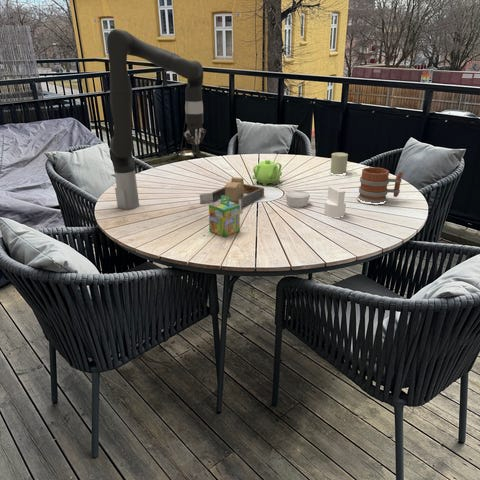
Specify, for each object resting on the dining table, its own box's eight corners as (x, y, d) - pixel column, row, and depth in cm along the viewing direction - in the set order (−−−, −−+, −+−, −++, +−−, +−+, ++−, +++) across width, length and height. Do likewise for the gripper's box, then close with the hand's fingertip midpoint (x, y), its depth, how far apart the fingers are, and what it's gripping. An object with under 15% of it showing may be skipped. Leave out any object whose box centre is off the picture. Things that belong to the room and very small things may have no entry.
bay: (240, 213, 189) (240, 203, 187) (199, 203, 201) (198, 194, 199) (269, 197, 208) (270, 188, 206) (230, 189, 220) (230, 181, 218)
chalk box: (208, 231, 171) (207, 196, 165) (225, 224, 177) (224, 191, 171) (224, 237, 165) (223, 202, 159) (240, 231, 171) (240, 196, 165)
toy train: (244, 195, 211) (244, 176, 207) (236, 207, 196) (235, 186, 192) (234, 194, 213) (233, 175, 208) (224, 206, 198) (224, 185, 193)
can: (326, 173, 246) (328, 152, 240) (339, 171, 249) (341, 150, 244) (336, 177, 238) (338, 156, 233) (349, 174, 241) (351, 154, 236)
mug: (355, 195, 209) (358, 165, 202) (395, 196, 206) (399, 166, 200) (358, 205, 196) (362, 174, 190) (401, 206, 194) (406, 174, 187)
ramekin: (310, 201, 202) (311, 191, 200) (307, 209, 192) (308, 198, 190) (287, 199, 205) (287, 189, 203) (283, 207, 195) (283, 196, 193)
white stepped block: (320, 212, 188) (322, 187, 183) (337, 209, 191) (339, 184, 186) (331, 219, 181) (333, 193, 175) (348, 216, 183) (351, 190, 178)
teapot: (287, 181, 232) (288, 159, 227) (276, 188, 221) (277, 165, 215) (261, 177, 239) (261, 155, 234) (249, 184, 228) (249, 161, 223)
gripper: (190, 114, 171) (191, 156, 178) (211, 111, 181) (211, 151, 188) (176, 112, 175) (178, 154, 183) (198, 109, 185) (199, 149, 192)
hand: (195, 152), depth 185 cm, fingers closed
